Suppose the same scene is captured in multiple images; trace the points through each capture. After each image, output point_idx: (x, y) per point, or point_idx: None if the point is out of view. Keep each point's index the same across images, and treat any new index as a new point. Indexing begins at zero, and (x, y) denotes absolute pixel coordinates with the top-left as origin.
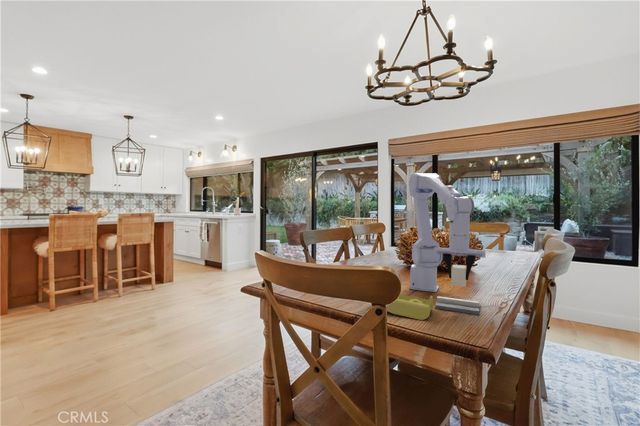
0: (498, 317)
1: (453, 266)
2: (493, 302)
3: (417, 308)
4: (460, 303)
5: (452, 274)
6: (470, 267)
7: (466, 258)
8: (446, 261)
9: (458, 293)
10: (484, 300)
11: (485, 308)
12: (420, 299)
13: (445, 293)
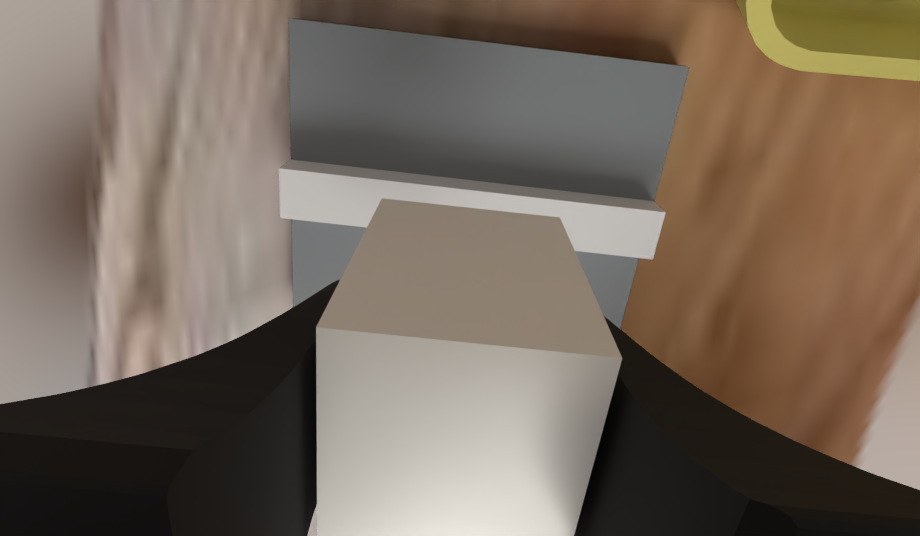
0: (142, 10)
1: (564, 449)
2: None
3: None
4: (448, 180)
5: (569, 282)
6: (206, 358)
7: (172, 467)
8: (799, 459)
9: None
10: None
11: (255, 231)
12: (869, 49)
13: None
